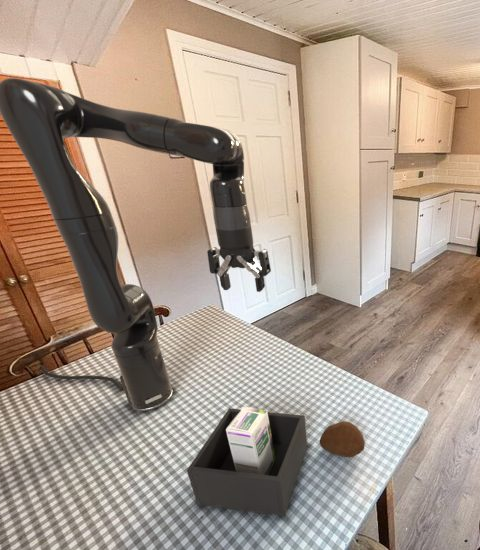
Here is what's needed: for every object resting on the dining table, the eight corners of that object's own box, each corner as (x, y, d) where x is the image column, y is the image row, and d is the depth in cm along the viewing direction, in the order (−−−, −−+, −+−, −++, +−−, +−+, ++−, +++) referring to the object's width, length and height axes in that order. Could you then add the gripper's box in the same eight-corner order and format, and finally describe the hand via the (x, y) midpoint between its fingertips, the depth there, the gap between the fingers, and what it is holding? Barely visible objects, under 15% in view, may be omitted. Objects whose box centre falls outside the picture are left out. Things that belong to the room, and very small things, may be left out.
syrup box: (262, 486, 61) (253, 433, 56) (236, 480, 62) (224, 428, 57) (276, 460, 66) (268, 410, 61) (251, 455, 67) (242, 405, 62)
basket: (197, 505, 58) (186, 470, 55) (235, 439, 72) (229, 408, 68) (285, 516, 57) (279, 481, 53) (307, 447, 70) (304, 415, 67)
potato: (324, 432, 74) (323, 411, 71) (366, 437, 73) (367, 415, 70) (316, 459, 67) (315, 436, 65) (363, 465, 66) (363, 441, 64)
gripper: (270, 222, 72) (277, 285, 78) (213, 220, 73) (224, 282, 79) (255, 229, 65) (264, 298, 71) (193, 227, 66) (207, 294, 72)
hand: (243, 289), depth 75 cm, fingers open, 8 cm apart
